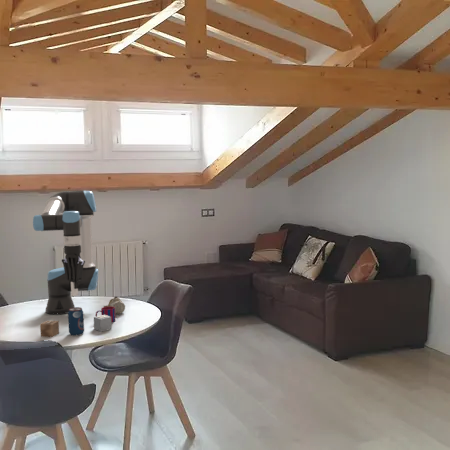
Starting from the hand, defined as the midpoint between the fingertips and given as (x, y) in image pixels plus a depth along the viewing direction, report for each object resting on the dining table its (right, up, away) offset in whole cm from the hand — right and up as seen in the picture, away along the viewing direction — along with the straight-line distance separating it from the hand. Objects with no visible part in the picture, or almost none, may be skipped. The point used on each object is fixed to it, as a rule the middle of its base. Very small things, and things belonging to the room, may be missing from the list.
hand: (74, 295), depth 263 cm
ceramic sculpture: (+11, -14, +42) cm, 45 cm away
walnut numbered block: (-12, -19, +1) cm, 22 cm away
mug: (+9, -16, +22) cm, 29 cm away
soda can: (0, -18, +2) cm, 19 cm away
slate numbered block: (+11, -17, +9) cm, 23 cm away
